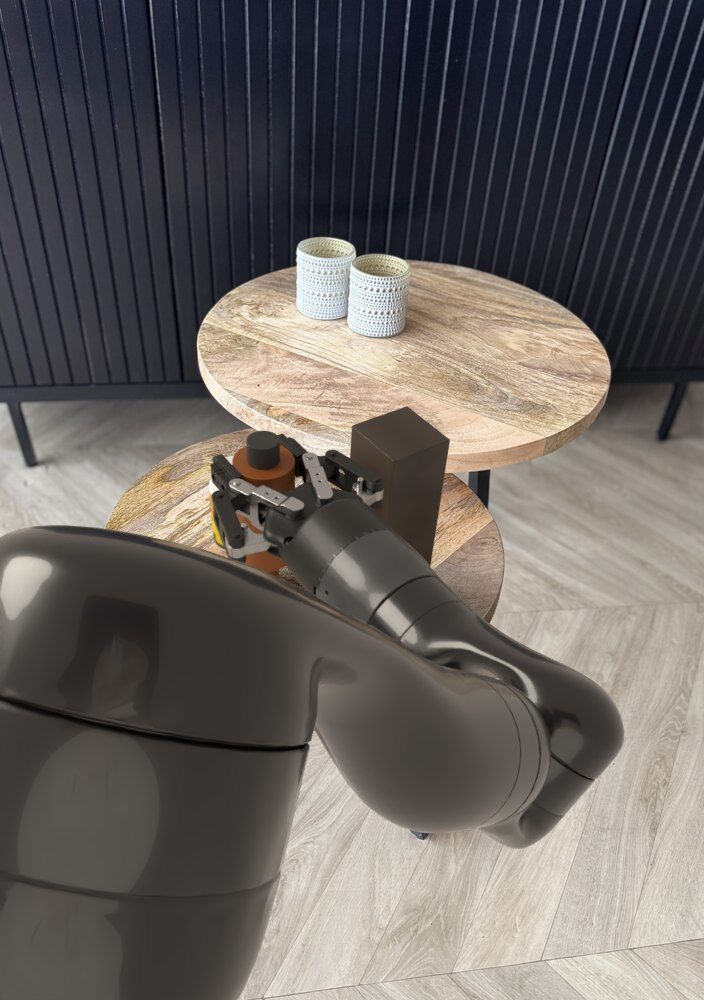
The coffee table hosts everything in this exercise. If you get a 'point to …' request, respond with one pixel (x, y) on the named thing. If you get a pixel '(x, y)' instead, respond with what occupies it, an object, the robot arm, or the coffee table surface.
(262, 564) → the amber bottle
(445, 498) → the coffee table surface
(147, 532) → the coffee table surface
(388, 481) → the pedestal
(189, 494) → the coffee table surface
